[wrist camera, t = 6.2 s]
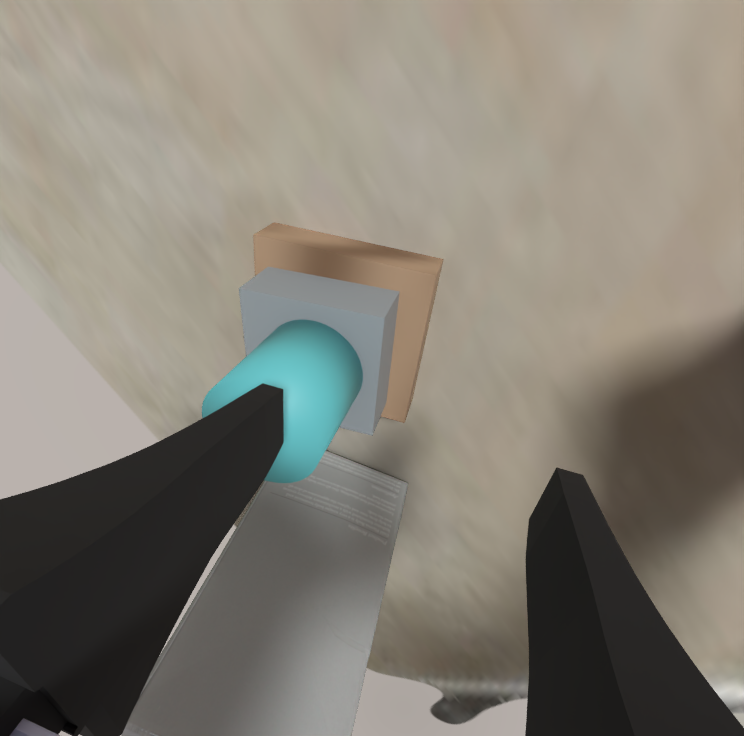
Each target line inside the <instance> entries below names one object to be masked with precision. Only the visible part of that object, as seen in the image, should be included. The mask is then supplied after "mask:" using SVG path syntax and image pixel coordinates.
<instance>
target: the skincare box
mask: <svg viewBox="0 0 744 736" xmlns="http://www.w3.org/2000/svg"><path fill="white" fill-rule="evenodd" d="M407 488H408V483H406V482H404V481H401V480H399V479H396V478H394V477H391V476H389V475H386V474H384V473H381V472H379V471H376V470H374V469H371V468H369V467H366V466H364V465H361V464H359V463H356V462H354V461H351V460H349V459H346V458H344V457H341V456H338V455H336V454H333V453H331V452H328V451H325V453H324V454H323V456H322V458H321V460H320V461H319V463H318V465H317V467H316V468H315V470H314V471H313V472H312V473H311V474H310V475H309V476H308V477H306V478H305V479H303V480H300V481H297V482H293V483H275V482H270V481H266V480H265V481H264V483H263V484H262V486H261V488H260V490H259V491H258V493H257V495H256V496H255V498H254V500H253V501H252V503H251V505H250V506H249V508H248V510H247V511H246V513H245V515H244V516H243V518H242V520H241V521H240V523H239V525H238V526H237V528H236V530H235V531H234V533H233V535H232V536H231V538H230V540H229V541H228V543H227V545H226V546H225V548H224V550H223V552H222V553H221V555H220V557H219V558H218V560H217V562H216V563H215V565H214V567H213V568H212V570H211V572H210V573H209V575H208V576H207V578H206V580H205V582H204V583H203V585H202V586H201V588H200V590H199V592H198V593H197V595H196V597H195V598H194V600H193V601H192V603H191V605H190V607H189V608H188V610H187V612H186V613H185V615H184V617H183V618H182V620H181V622H180V623H179V625H178V627H177V629H176V630H175V632H174V634H173V635H172V637H171V638H170V640H169V641H168V643H167V645H166V646H165V648H164V650H163V651H162V653H161V654H160V656H159V658H158V659H157V661H156V663H155V665H154V667H153V669H152V671H151V673H150V675H149V677H148V680H147V682H146V684H145V686H144V688H143V690H142V692H141V694H140V697H139V699H138V701H137V703H136V705H135V707H134V709H133V711H132V713H131V716H130V718H129V720H128V722H127V724H126V727H125V729H124V731H123V733H122V736H351V735H352V731H353V726H354V722H355V717H356V713H357V709H358V703H359V699H360V695H361V690H362V686H363V681H364V677H365V671H366V667H367V662H368V659H369V655H370V652H371V647H372V642H373V638H374V633H375V629H376V625H377V620H378V616H379V611H380V607H381V602H382V598H383V594H384V590H385V585H386V581H387V577H388V572H389V568H390V563H391V559H392V554H393V550H394V546H395V542H396V538H397V533H398V529H399V525H400V520H401V516H402V511H403V506H404V502H405V497H406V493H407Z"/></svg>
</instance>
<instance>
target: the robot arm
mask: <svg viewBox="0 0 744 736" xmlns="http://www.w3.org/2000/svg"><path fill="white" fill-rule="evenodd" d="M283 443H284V418H283V389H281V388H278V387H274V386H271V385H267V384H264V383H262V384H261V385H259V386H257V387H255V388H254V389H252V390H250V391H248V392H247V393H245V394H243V395H242V396H240V397H238V398H237V399H235V400H233V401H232V402H230V403H228V404H227V405H225V406H223V407H222V408H220V409H218V410H217V411H215V412H213V413H211V414H210V415H208V416H206V417H204V418H203V419H201V420H199V421H197V422H196V423H194V424H192V425H190V426H188V427H186V428H184V429H183V430H181V431H179V432H177V433H175V434H173V435H171V436H169V437H167V438H165V439H163V440H161V441H159V442H157V443H155V444H153V445H151V446H149V447H147V448H145V449H143V450H140V451H138V452H136V453H133V454H132V455H129V456H126V457H124V458H122V459H119V460H117V461H115V462H112V463H110V464H107V465H105V466H102V467H99V468H97V469H94V470H91V471H88V472H86V473H83V474H80V475H77V476H74V477H72V478H69V479H66V480H63V481H61V482H57V483H54V484H51V485H48V486H45V487H42V488H38V489H35V490H32V491H29V492H25V493H22V494H18V495H15V496H11V497H8V498H4V499H1V500H0V736H60V735H58V734H59V733H60V731H64V732H66V733H68V734H70V735H72V736H78V735H79V734H80V735H82V736H120V735H121V734H122V733H123V731H124V729H125V727H126V724H127V722H128V720H129V718H130V716H131V713H132V711H133V709H134V707H135V705H136V703H137V701H138V699H139V697H140V694H141V692H142V690H143V688H144V686H145V684H146V682H147V680H148V677H149V675H150V673H151V671H152V669H153V667H154V665H155V663H156V661H157V659H158V657H159V655H160V653H161V651H162V649H163V647H164V645H165V643H166V641H167V639H168V637H169V635H170V633H171V631H172V629H173V627H174V625H175V623H176V622H177V620H178V618H179V616H180V614H181V612H182V610H183V608H184V606H185V605H186V603H187V601H188V599H189V597H190V595H191V593H192V591H193V590H194V588H195V586H196V584H197V582H198V581H199V579H200V577H201V575H202V573H203V572H204V570H205V568H206V566H207V564H208V563H209V561H210V559H211V557H212V556H213V554H214V553H215V551H216V549H217V548H218V546H219V545H220V543H221V542H222V540H223V539H224V537H225V536H226V534H227V533H228V531H229V530H230V528H231V527H232V526H233V524H234V523H235V521H236V520H237V518H238V517H239V515H240V514H241V513H242V511H243V510H244V508H245V507H246V505H247V504H248V502H249V501H250V500H251V498H252V497H253V495H254V494H255V492H256V491H257V489H258V488H259V486H260V485H261V483H262V482H263V480H264V479H265V477H266V476H267V474H268V472H269V471H270V469H271V467H272V465H273V463H274V461H275V459H276V457H277V455H278V453H279V451H280V449H281V447H282V445H283ZM526 584H527V611H528V636H529V686H528V704H527V722H526V736H744V728H743V726H742V725H741V724H740V723H739V721H738V720H737V719H736V718H735V716H734V715H733V714H732V712H731V711H730V710H729V709H728V707H727V706H726V705H725V704H724V702H723V701H722V700H721V699H720V697H719V696H718V695H717V694H716V692H715V691H714V690H713V688H712V687H711V686H710V684H709V683H708V682H707V680H706V679H705V678H704V676H703V675H702V674H701V672H700V671H699V670H698V668H697V667H696V666H695V664H694V663H693V662H692V660H691V659H690V657H689V656H688V654H687V653H686V652H685V650H684V649H683V647H682V646H681V644H680V643H679V642H678V640H677V639H676V637H675V636H674V635H673V633H672V632H671V630H670V629H669V627H668V626H667V624H666V623H665V621H664V620H663V618H662V617H661V615H660V614H659V612H658V611H657V609H656V607H655V606H654V604H653V602H652V601H651V599H650V598H649V596H648V594H647V593H646V591H645V590H644V588H643V586H642V585H641V583H640V581H639V580H638V578H637V576H636V574H635V573H634V571H633V569H632V567H631V566H630V564H629V562H628V560H627V559H626V557H625V555H624V553H623V551H622V550H621V548H620V546H619V544H618V542H617V540H616V539H615V537H614V535H613V533H612V531H611V529H610V527H609V525H608V523H607V521H606V520H605V518H604V516H603V514H602V512H601V510H600V508H599V506H598V504H597V502H596V500H595V498H594V496H593V494H592V492H591V490H590V488H589V486H588V484H587V482H586V480H585V478H584V476H583V475H581V474H577V473H574V472H570V471H567V470H563V469H560V468H556V470H555V472H554V474H553V475H552V477H551V479H550V481H549V483H548V485H547V487H546V489H545V490H544V492H543V494H542V496H541V498H540V500H539V502H538V503H537V505H536V507H535V509H534V511H533V513H532V515H531V517H530V518H529V526H528V537H527V549H526Z"/></svg>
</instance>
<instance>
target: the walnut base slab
mask: <svg viewBox="0 0 744 736" xmlns="http://www.w3.org/2000/svg"><path fill="white" fill-rule="evenodd" d="M253 237H254V261H255V276H256V275H257V274H259V273H260V272H261V271H263V270H264V269H265V268H267V267H273V268H279V269H284V270H289V271H294V272H300V273H305V274H310V275H315V276H321V277H326V278H331V279H337V280H342V281H347V282H352V283H358V284H363V285H368V286H373V287H379V288H384V289H389V290H395V291H400V293H399V301H398V310H397V318H396V326H395V335H394V343H393V351H392V360H391V368H390V376H389V385H388V393H387V401H386V405H385V407H384V409H383V412H382V414H381V417H385V418H389V419H392V420H396V421H399V422H403V423H404V422H405V420H406V417H407V414H408V411H409V408H410V405H411V402H412V399H413V394H414V389H415V385H416V380H417V376H418V371H419V367H420V362H421V358H422V353H423V349H424V344H425V340H426V335H427V331H428V326H429V322H430V317H431V313H432V308H433V304H434V299H435V295H436V290H437V286H438V281H439V277H440V272H441V268H442V263H443V259H440V258H435V257H431V256H426V255H421V254H417V253H412V252H408V251H403V250H398V249H394V248H389V247H385V246H380V245H375V244H371V243H366V242H362V241H357V240H352V239H348V238H343V237H339V236H334V235H329V234H325V233H320V232H316V231H311V230H306V229H302V228H297V227H293V226H288V225H283V224H279V223H272V224H271V225H269V226H267V227H266V228H264V229H262V230H261V231H259V232H257V233H255V234H254V235H253Z"/></svg>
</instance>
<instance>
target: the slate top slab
mask: <svg viewBox="0 0 744 736" xmlns="http://www.w3.org/2000/svg"><path fill="white" fill-rule="evenodd" d="M399 293H400V291H395V290H389V289H384V288H379V287H373V286H368V285H363V284H358V283H352V282H347V281H342V280H337V279H331V278H326V277H321V276H315V275H310V274H305V273H300V272H294V271H289V270H284V269H279V268H273V267H267V268H265V269H264V270H263V271H261V272H260V273H259V274H257V275H256V276H255V277H253V278H252V279H251V280H249V281H248V282H247V283H245V284H244V285H243V286H241V287H240V288H239V294H240V304H241V313H242V322H243V331H244V341H245V350H246V356H248V355H249V354H250V353H251V352H252V351H253V350H254V349H255V348H256V347H257V346H258V345H259V344H260V343H261V342H263V341H264V340H265V339H266V338H267V337H268V336H269V335H270V334H271V333H272V332H273V331H274V330H275V329H276V328H278V327H279V326H280V325H282V324H284V323H286V322H289V321H292V320H299V319H301V320H312V321H316V322H320V323H322V324H325V325H327V326H329V327H331V328H333V329H334V330H336V331H337V332H339V333H340V334H341V335H342V336H343V337H344V338H345V339H346V340H347V341H348V342H349V343H350V344H351V345H352V347H353V348H354V350H355V351H356V353H357V355H358V357H359V359H360V362H361V365H362V370H363V382H362V386H361V389H360V391H359V393H358V395H357V397H356V399H355V400H354V402H353V404H352V406H351V407H350V409H349V411H348V413H347V414H346V416H345V418H344V420H343V421H342V423H341V425H340V428H344V429H348V430H352V431H356V432H360V433H364V434H368V435H372V436H373V433H374V431H375V428H376V426H377V424H378V421H379V419H380V417H381V414H382V412H383V409H384V407H385V405H386V401H387V393H388V385H389V376H390V368H391V360H392V351H393V343H394V335H395V326H396V318H397V310H398V301H399Z"/></svg>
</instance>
